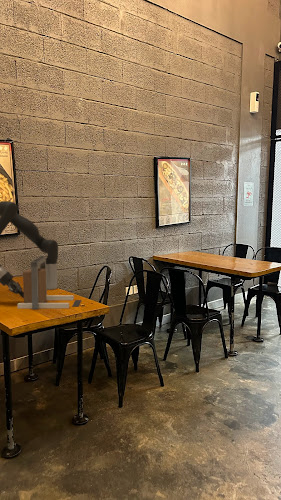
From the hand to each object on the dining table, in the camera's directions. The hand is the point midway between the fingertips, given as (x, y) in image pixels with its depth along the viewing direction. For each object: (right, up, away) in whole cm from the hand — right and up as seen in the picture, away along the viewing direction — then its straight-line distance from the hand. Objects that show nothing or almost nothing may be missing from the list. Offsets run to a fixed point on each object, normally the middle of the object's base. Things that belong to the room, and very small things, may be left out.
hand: (25, 296), depth 223 cm
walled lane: (+12, -4, +1) cm, 13 cm away
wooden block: (+6, -4, +1) cm, 7 cm away
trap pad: (+30, -4, +1) cm, 30 cm away
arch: (+8, -4, +1) cm, 9 cm away
